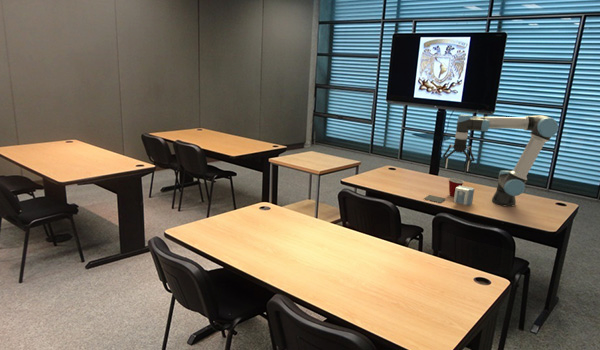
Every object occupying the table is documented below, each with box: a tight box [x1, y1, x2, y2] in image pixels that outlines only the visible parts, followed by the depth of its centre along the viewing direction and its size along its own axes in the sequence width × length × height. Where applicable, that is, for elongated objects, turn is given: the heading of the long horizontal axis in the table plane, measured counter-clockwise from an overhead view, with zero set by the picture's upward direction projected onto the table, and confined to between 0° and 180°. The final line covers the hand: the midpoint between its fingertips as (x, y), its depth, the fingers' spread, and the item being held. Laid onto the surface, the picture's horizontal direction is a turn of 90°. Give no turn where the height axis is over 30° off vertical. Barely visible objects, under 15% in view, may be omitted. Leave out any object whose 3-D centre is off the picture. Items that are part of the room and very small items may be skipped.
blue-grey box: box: [455, 185, 475, 207], centre depth 292 cm, size 10×16×11 cm, turn 146°
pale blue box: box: [453, 187, 470, 206], centre depth 288 cm, size 8×4×10 cm, turn 56°
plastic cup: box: [448, 177, 465, 198], centre depth 311 cm, size 11×11×12 cm
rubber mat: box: [423, 194, 447, 204], centre depth 302 cm, size 12×12×1 cm
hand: (456, 169), depth 290 cm, fingers open, 13 cm apart
